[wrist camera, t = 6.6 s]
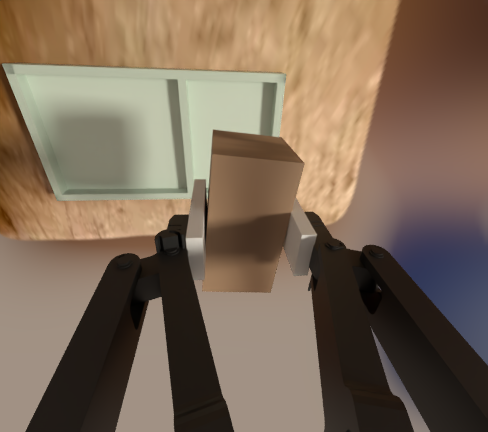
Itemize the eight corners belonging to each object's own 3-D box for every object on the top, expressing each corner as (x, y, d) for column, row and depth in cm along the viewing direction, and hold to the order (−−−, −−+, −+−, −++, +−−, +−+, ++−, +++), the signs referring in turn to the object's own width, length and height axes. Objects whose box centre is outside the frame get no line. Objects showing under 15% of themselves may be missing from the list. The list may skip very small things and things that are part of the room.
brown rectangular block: (204, 243, 21) (202, 291, 16) (212, 129, 16) (212, 154, 12) (259, 246, 21) (270, 292, 17) (281, 137, 17) (304, 163, 13)
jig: (17, 62, 25) (1, 63, 23) (281, 72, 28) (286, 73, 26) (66, 192, 32) (57, 200, 30) (269, 189, 35) (272, 197, 33)
